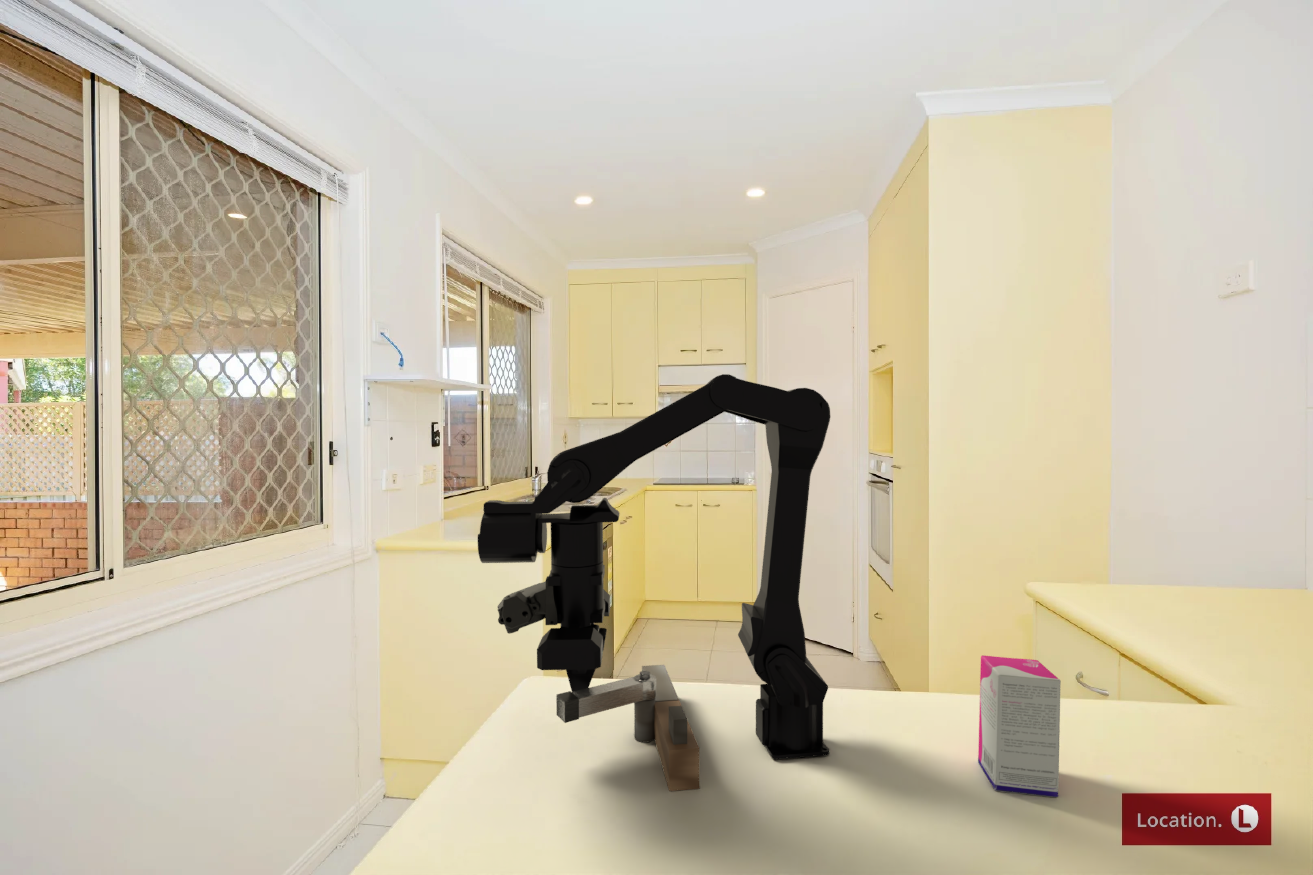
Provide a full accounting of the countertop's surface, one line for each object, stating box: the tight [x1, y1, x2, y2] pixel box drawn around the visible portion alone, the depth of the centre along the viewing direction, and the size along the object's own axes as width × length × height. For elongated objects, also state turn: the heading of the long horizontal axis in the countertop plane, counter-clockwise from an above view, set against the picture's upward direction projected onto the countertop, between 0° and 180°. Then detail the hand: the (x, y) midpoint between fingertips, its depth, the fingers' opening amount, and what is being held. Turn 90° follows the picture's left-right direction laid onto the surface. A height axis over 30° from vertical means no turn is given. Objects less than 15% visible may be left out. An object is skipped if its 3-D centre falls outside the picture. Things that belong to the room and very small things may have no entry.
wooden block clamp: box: [633, 664, 700, 792], centre depth 72 cm, size 5×22×6 cm, turn 8°
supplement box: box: [977, 654, 1061, 798], centre depth 63 cm, size 6×6×12 cm
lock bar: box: [555, 670, 656, 724], centre depth 69 cm, size 12×3×3 cm, turn 122°
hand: (579, 699), depth 70 cm, fingers closed
